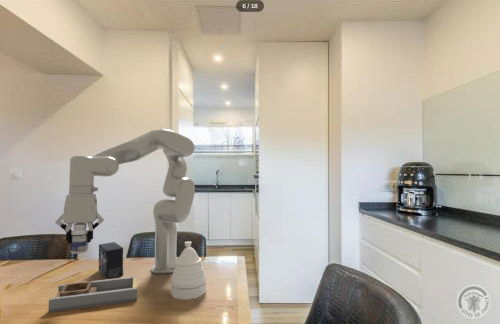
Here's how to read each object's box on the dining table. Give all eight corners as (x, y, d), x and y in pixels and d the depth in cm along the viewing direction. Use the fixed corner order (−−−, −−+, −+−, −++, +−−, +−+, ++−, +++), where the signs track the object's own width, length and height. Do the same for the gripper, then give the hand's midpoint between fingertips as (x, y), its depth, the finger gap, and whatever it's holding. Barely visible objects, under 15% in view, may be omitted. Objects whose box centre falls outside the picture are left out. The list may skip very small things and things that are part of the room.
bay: (136, 286, 114) (137, 276, 114) (136, 300, 102) (136, 288, 102) (59, 296, 105) (59, 284, 105) (48, 312, 93) (48, 299, 93)
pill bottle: (75, 249, 106) (76, 222, 106) (90, 249, 106) (91, 222, 107) (67, 254, 101) (68, 225, 101) (83, 253, 101) (84, 225, 101)
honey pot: (168, 288, 113) (169, 240, 114) (201, 283, 118) (201, 238, 119) (173, 301, 101) (174, 249, 102) (209, 295, 106) (210, 245, 107)
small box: (97, 271, 131) (98, 244, 132) (114, 267, 136) (114, 241, 136) (106, 279, 121) (106, 250, 122) (123, 275, 126) (124, 247, 126)
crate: (97, 290, 108) (97, 279, 108) (93, 300, 99) (94, 289, 99) (59, 294, 104) (59, 284, 104) (52, 306, 95) (52, 294, 95)
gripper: (109, 189, 111) (107, 238, 110) (56, 190, 105) (54, 241, 104) (106, 191, 104) (105, 243, 103) (49, 191, 98) (47, 246, 97)
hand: (79, 241), depth 104 cm, fingers closed on pill bottle, 5 cm apart
